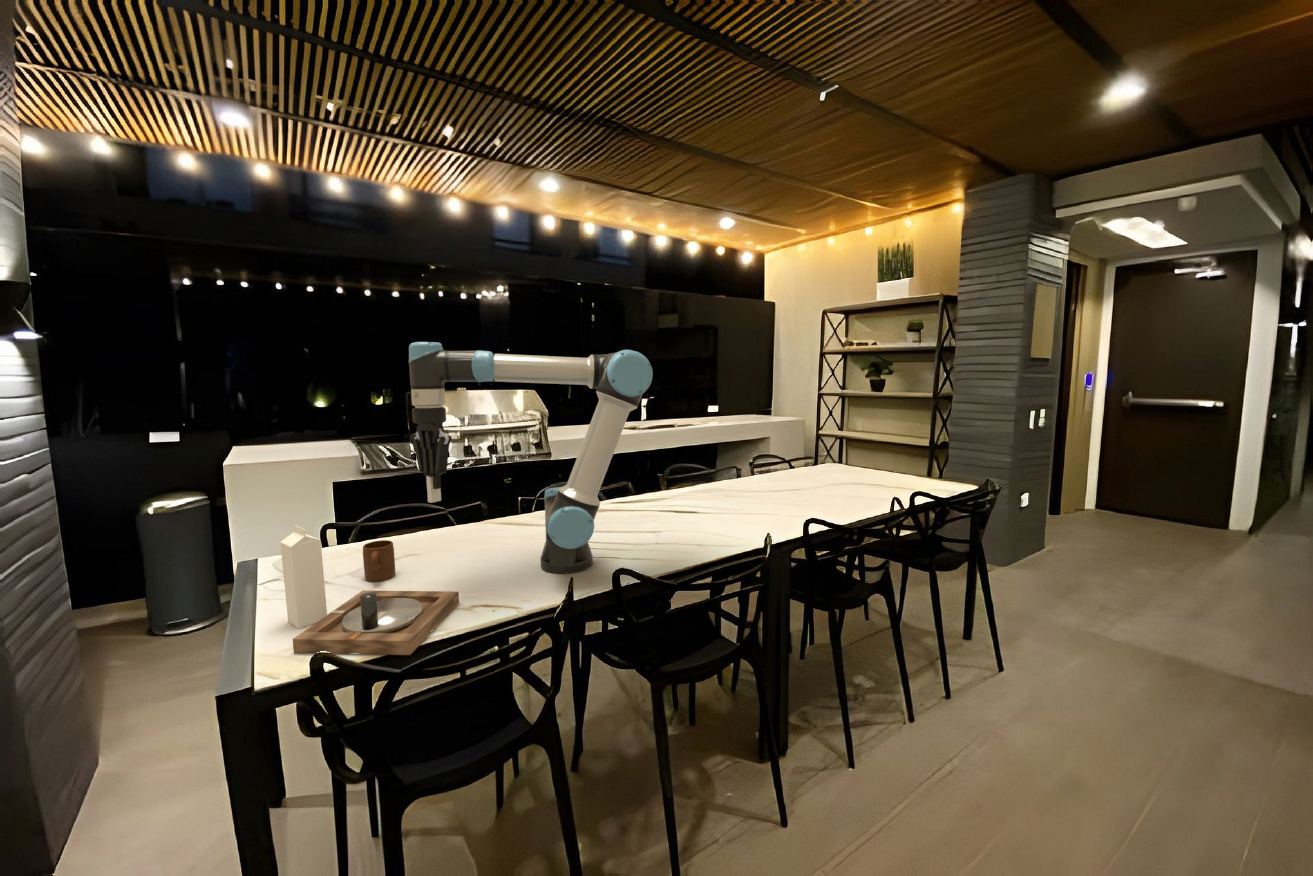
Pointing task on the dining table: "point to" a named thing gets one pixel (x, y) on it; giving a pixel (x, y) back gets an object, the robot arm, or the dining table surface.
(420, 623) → the board
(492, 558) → the dining table surface
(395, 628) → the dial
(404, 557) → the dining table surface
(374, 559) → the mug
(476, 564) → the dining table surface
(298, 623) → the milk
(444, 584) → the dining table surface
